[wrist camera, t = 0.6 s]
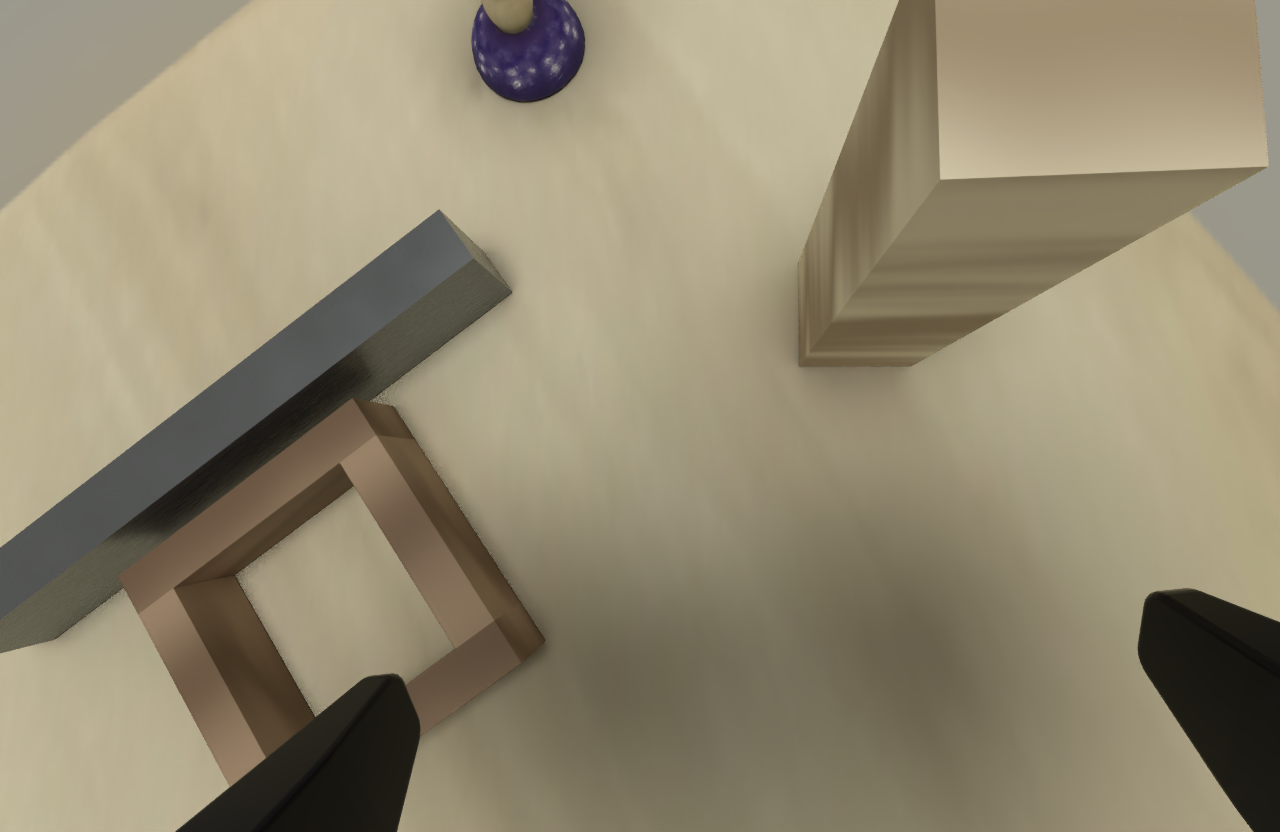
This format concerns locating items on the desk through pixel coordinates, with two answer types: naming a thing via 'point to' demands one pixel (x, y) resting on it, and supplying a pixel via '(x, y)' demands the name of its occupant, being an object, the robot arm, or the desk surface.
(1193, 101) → the wooden square post
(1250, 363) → the desk surface
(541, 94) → the toy lamp
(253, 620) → the collar
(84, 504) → the rail
